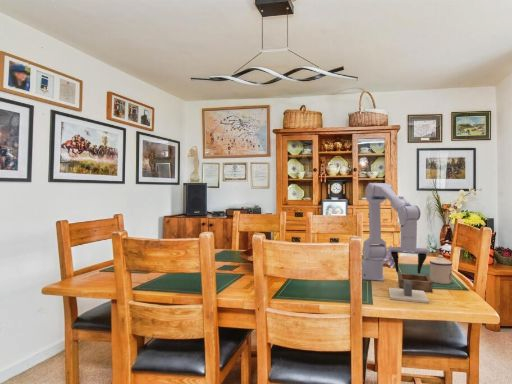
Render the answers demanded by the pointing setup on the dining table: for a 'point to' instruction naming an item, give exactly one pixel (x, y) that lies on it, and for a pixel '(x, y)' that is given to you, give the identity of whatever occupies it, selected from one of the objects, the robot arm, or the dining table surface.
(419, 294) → the cream lid
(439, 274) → the teacup with lid
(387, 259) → the water lily
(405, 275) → the walnut box
